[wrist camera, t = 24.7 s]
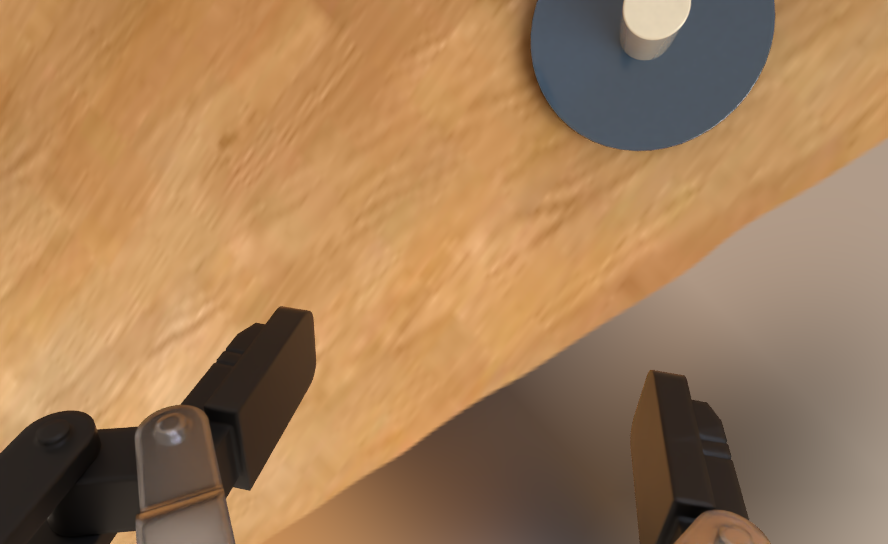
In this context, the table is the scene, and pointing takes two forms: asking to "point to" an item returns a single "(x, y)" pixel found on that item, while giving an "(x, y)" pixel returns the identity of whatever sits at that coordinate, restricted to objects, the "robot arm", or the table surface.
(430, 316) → the table surface
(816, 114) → the table surface
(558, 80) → the lid
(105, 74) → the table surface
